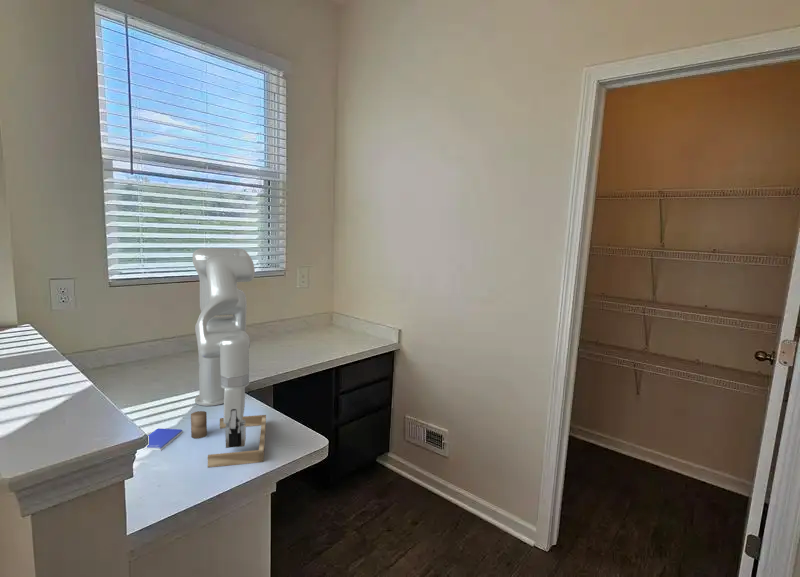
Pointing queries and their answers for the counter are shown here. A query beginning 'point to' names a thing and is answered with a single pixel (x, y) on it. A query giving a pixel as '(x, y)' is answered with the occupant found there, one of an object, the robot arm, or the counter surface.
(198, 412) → the cylinder
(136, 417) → the counter surface
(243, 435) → the block
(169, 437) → the hard drive
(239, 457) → the corral
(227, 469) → the counter surface
